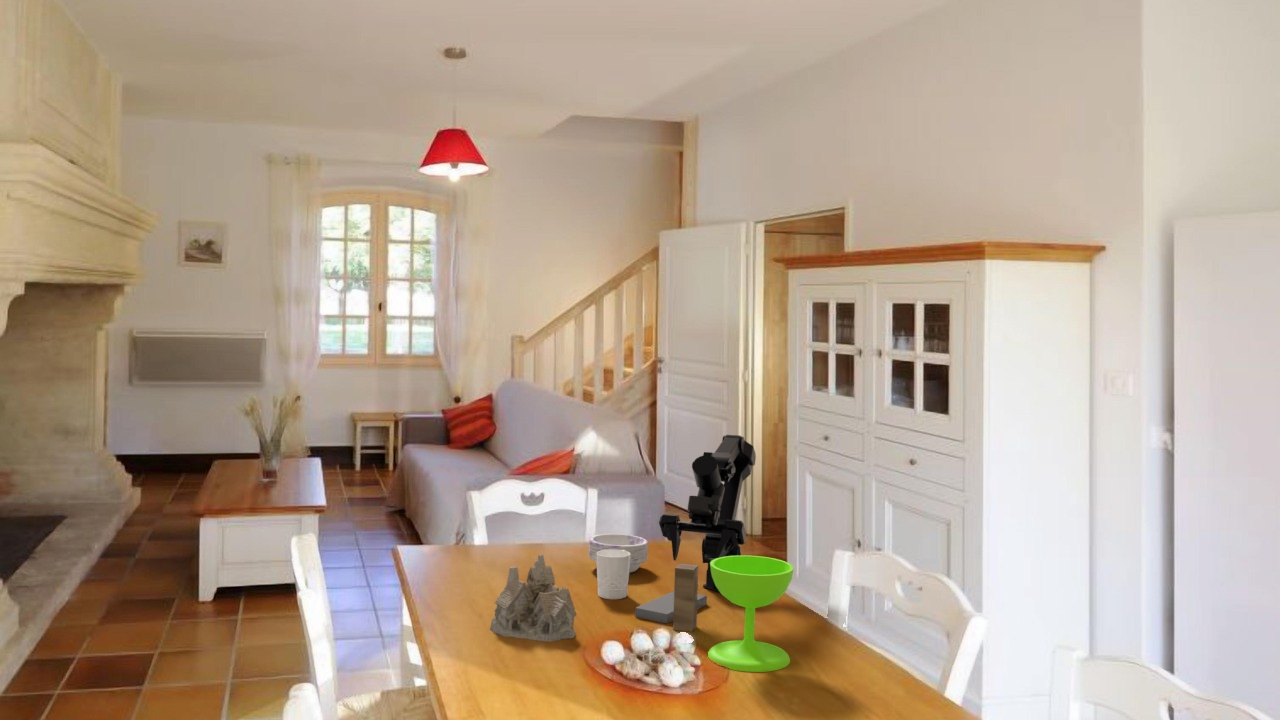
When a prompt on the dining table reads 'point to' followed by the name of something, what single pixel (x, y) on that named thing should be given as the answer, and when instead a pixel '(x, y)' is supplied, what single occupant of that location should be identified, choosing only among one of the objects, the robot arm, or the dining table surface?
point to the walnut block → (685, 597)
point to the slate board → (663, 608)
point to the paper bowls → (620, 547)
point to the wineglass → (750, 608)
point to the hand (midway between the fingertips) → (694, 561)
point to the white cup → (613, 573)
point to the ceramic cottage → (534, 607)
